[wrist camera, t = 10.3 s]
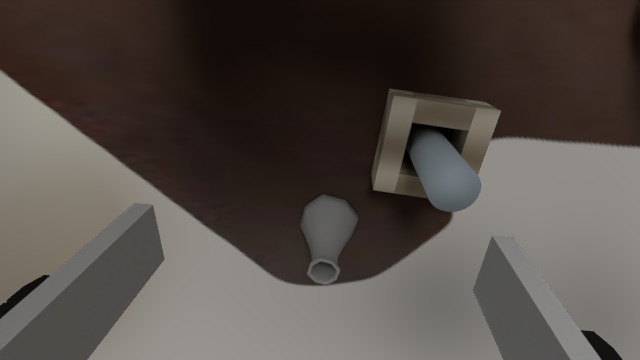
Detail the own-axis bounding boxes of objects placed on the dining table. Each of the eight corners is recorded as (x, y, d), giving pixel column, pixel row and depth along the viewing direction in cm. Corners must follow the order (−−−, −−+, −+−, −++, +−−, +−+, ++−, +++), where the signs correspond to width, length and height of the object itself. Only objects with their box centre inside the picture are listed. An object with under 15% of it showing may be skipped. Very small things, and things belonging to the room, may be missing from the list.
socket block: (389, 88, 34) (393, 95, 31) (484, 102, 34) (501, 111, 30) (371, 174, 39) (373, 190, 35) (455, 187, 38) (466, 204, 35)
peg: (409, 121, 36) (435, 161, 25) (446, 126, 35) (488, 170, 25) (401, 155, 37) (421, 207, 26) (436, 160, 37) (470, 215, 26)
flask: (369, 214, 41) (375, 267, 32) (336, 252, 44) (332, 310, 35) (321, 183, 40) (312, 229, 31) (290, 224, 43) (274, 277, 34)
